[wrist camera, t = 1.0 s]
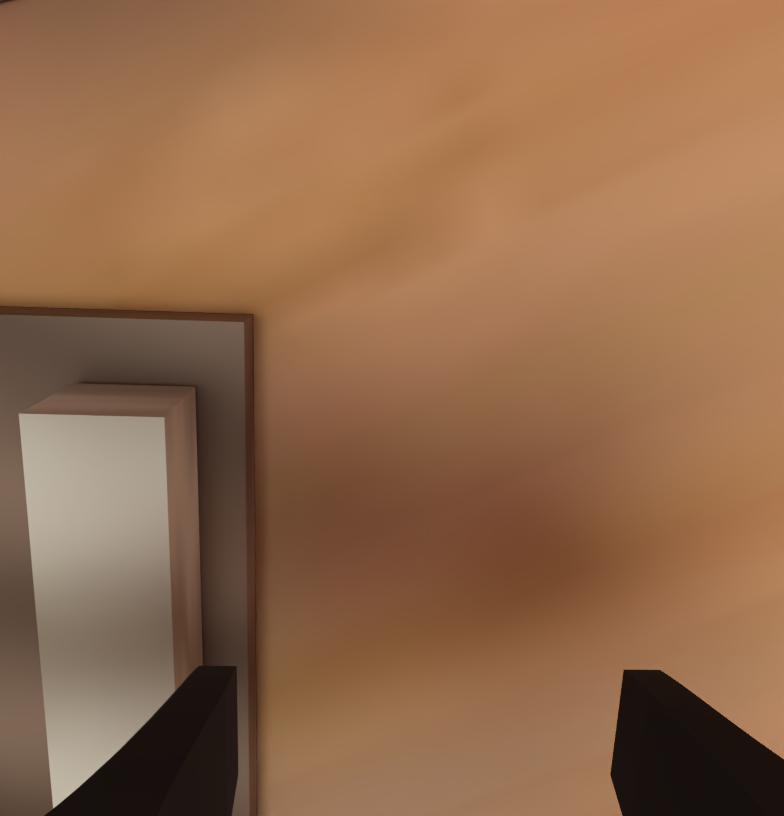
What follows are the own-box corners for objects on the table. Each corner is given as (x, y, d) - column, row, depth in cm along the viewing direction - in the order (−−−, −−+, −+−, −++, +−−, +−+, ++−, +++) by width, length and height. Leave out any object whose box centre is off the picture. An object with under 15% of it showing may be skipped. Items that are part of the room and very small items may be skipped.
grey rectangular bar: (211, 832, 20) (187, 926, 18) (99, 832, 20) (58, 927, 18) (199, 386, 17) (169, 417, 15) (68, 382, 17) (13, 413, 14)
